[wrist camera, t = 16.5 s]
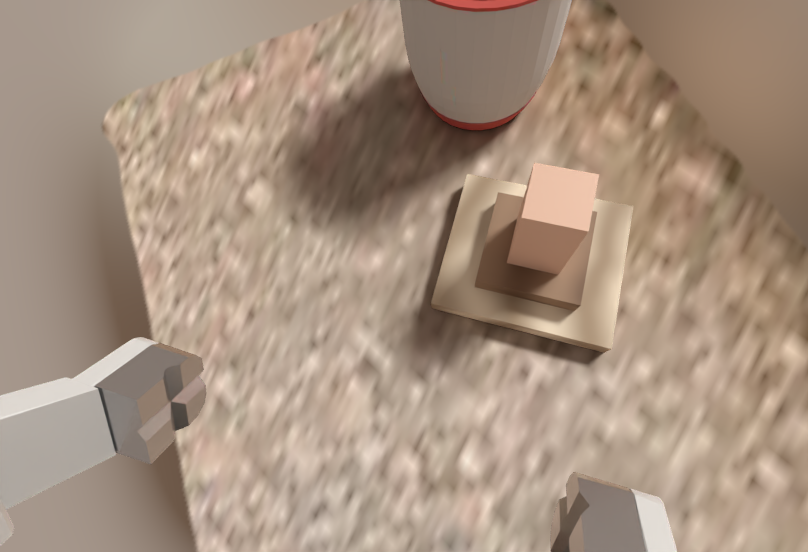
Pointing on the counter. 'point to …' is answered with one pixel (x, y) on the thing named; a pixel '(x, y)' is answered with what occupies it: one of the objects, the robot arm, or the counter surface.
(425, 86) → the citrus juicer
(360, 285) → the counter surface
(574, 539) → the robot arm
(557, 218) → the pillar block
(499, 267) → the stepped pedestal
